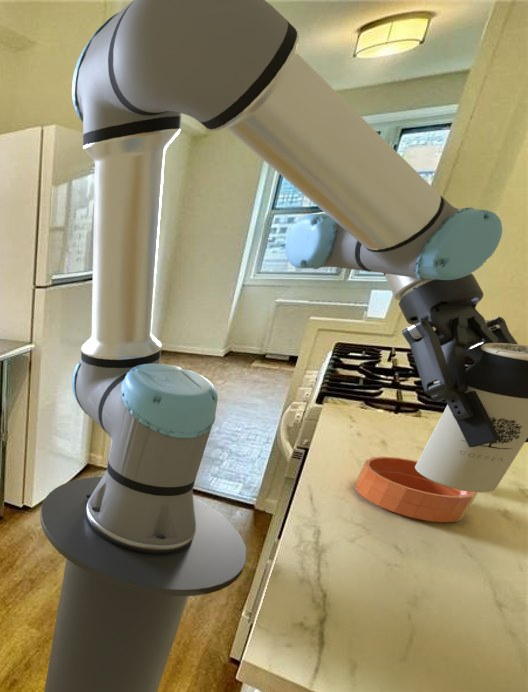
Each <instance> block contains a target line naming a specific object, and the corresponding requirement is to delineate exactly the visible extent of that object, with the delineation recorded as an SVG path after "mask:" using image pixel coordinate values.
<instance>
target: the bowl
mask: <svg viewBox="0 0 528 692" xmlns="http://www.w3.org/2000/svg"><path fill="white" fill-rule="evenodd" d="M417 462H418V460H414V459H409V458H402V457H394V456H374V457H370V458H368V459H366V460H365V461H364V464H363V466H362V468H361V470H360V472H359V475H358V477H357V479H356V480H355V483H354V488H355V490H356V492H357V493H358V494H359V495H361V496H362V497H363V498H364V499H366V500H367V501H369V502H371V503H373V504H374V505H376V506H377V507H380V508H382V509H384V510H387V511H390V512H392V513H395V514H398V515H401V516H404V517H407V518H412V519H416V520H421V521H427V522H437V523H452V522H453V523H454V522H458V521H460V520H462V519H464V517H465V515H466V514H467V512H468V510H469V509H470V508H471V505H472V504H473V502H474V501H475V499H476V497H477V496H478V494H479V492H470V491H462V490H458V489H454V488H450V487H447V486H444V485H441V484H438V483H435V482H433V481H431V480H429V479H427V478H426V477H424V476H422V475H421V474H420V473H419V472H418V471H417V470H416V469H415V466H416V464H417Z"/></svg>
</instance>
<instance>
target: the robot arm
mask: <svg viewBox="0 0 528 692" xmlns="http://www.w3.org/2000/svg"><path fill="white" fill-rule="evenodd" d="M299 40H300V33H299V31H298V30H297V28H295V27H294V25H292V23H290V22H289V21H288V20H287V18H285V16H283V15H282V14H281V13H280V12H279V11H278V10H277V9H276V8H275V7H274V6H273V5H272V4H270V3H269V2H268V1H267V0H132V1H131V2H130V3H128V4H127V5H126V6H125V7H124V8H123V9H122V10H121V11H119V12H117V13H115V14H113V15H112V16H110V17H109V18H108V19H107V20H105V21H104V23H102V25H100V26H99V27H98V28H97V30H96V31H95V32H94V33H93V35H92V36H91V37H90V39H89V41H88V42H87V43H86V45H85V46H84V47H83V49H82V51H81V53H80V55H79V56H78V59H77V62H76V65H75V67H74V71H73V76H72V83H71V98H72V99H71V100H72V104H73V107H74V110H75V113H76V115H77V117H78V119H80V121H81V122H82V123H83V124H82V149H83V151H84V152H85V153H87V155H88V156H89V157H90V158H91V159H92V160H93V163H94V184H93V185H94V191H93V192H94V193H93V237H92V238H93V239H92V241H93V243H92V244H93V245H92V289H91V290H92V292H91V293H92V294H91V296H92V297H91V300H92V301H91V335H90V337H89V338H88V339H87V340H86V341H85V342H83V344H81V350H80V361H79V362H78V363H77V364H76V365H75V367H74V369H73V373H72V378H71V388H72V394H73V396H74V398H75V400H76V403H77V404H78V406H79V407H80V409H81V410H82V411H83V412H84V414H86V415H87V416H89V418H90V419H92V420H93V421H94V422H95V424H96V425H98V426H99V427H100V428H101V429H102V430H103V432H105V433H106V434H107V435H108V436H109V437H110V438H111V444H110V450H109V455H108V460H107V465H106V470H105V473H104V474H103V476H101V477H102V479H101V481H100V482H99V484H98V485H97V487H96V489H95V490H94V492H92V493H87V494H86V497H87V498H89V500H88V503H87V508H86V514H85V516H86V521H87V523H88V525H89V526H90V527H91V529H92V530H93V531H94V532H95V533H96V534H97V535H99V536H100V537H101V538H103V539H104V540H106V541H108V542H110V543H111V544H114V545H116V546H118V547H120V548H123V549H126V550H129V551H133V552H137V553H141V554H148V555H170V554H175V553H179V552H181V551H183V550H185V549H187V548H188V547H189V546H190V545H191V543H192V541H193V538H194V535H195V531H196V520H195V510H194V501H193V498H194V494H193V491H194V490H193V489H194V486H195V483H196V479H197V476H198V474H199V469H200V466H201V463H202V460H203V456H204V454H205V450H206V448H207V443H208V440H209V438H210V434H211V431H212V428H213V425H214V423H215V421H216V412H217V407H218V401H219V398H218V397H219V396H218V391H217V389H216V387H215V386H214V384H213V383H212V381H210V380H209V379H208V378H207V377H204V376H203V375H202V374H199V373H197V372H195V371H193V370H191V369H183V368H182V367H181V366H177V365H172V364H168V363H167V364H166V363H161V358H162V357H161V355H162V343H161V341H160V340H158V339H157V338H156V337H155V336H154V335H153V332H152V329H153V328H152V327H153V315H154V302H155V290H156V277H157V275H156V274H157V263H158V249H159V237H160V225H161V224H160V222H161V212H162V199H163V198H162V197H163V186H164V174H165V173H164V172H165V171H164V170H165V161H166V160H165V157H166V151H167V148H168V147H169V145H170V144H171V143H172V142H173V141H174V140H175V138H176V137H178V135H179V134H180V132H181V125H182V123H181V122H182V114H183V115H185V116H189V117H191V118H193V119H195V120H196V121H197V122H199V123H200V124H201V125H203V126H204V128H206V129H207V130H208V131H210V132H217V131H221V130H224V129H227V130H228V131H229V132H230V133H231V134H232V135H233V136H235V137H236V138H237V139H238V140H239V141H240V142H242V143H243V144H244V145H245V146H246V147H247V148H249V149H250V150H251V151H252V152H253V153H254V154H256V155H257V156H258V157H259V158H260V159H262V160H263V161H264V162H265V163H266V164H267V165H268V166H270V167H271V168H272V169H273V170H274V171H276V172H277V173H278V174H279V175H280V176H281V177H282V178H283V179H285V180H286V181H287V182H288V183H290V184H291V185H292V186H293V187H294V188H295V189H297V190H298V192H300V193H301V194H302V195H304V196H305V197H306V198H307V199H308V200H310V201H311V202H312V203H313V204H314V205H315V206H316V207H317V208H318V209H320V210H321V212H315V213H314V212H313V213H309V214H306V215H304V216H302V217H301V218H299V219H298V220H297V221H296V222H295V223H294V224H293V225H292V227H291V229H290V230H289V232H288V234H287V237H286V238H287V239H286V243H285V246H284V247H285V248H284V249H285V250H284V251H285V256H286V259H287V261H288V263H289V264H290V265H291V266H292V267H294V268H297V269H301V270H302V269H312V270H318V269H321V268H338V269H347V270H355V271H362V272H369V273H370V272H371V273H379V274H383V276H384V278H385V280H386V282H387V284H388V287H389V289H390V290H391V293H392V296H393V297H394V299H395V300H396V301H399V302H398V306H399V308H400V310H401V313H402V315H403V317H404V319H405V321H406V322H407V323H408V325H410V326H408V327H406V328H404V329H402V330H401V334H402V336H403V338H404V339H405V340H406V341H407V343H408V345H409V347H410V350H411V351H410V352H411V354H412V357H413V360H414V363H415V366H416V370H417V373H418V375H419V379H420V383H421V385H422V389H423V391H424V393H425V394H426V395H427V396H430V397H431V399H432V401H433V402H437V403H438V402H442V401H444V400H445V403H446V404H447V405H448V406H449V408H450V410H451V412H452V414H453V416H454V418H455V419H456V421H457V423H458V425H459V427H460V429H461V431H462V434H463V436H464V438H465V440H466V442H467V444H468V446H469V447H476V446H480V445H483V444H487V443H491V442H494V441H498V440H501V439H500V437H499V435H498V434H497V432H496V430H495V428H494V426H493V424H492V422H491V420H490V418H489V416H488V414H487V412H486V410H485V408H484V406H483V404H482V402H481V400H480V399H479V397H478V395H477V393H476V391H470V392H467V393H465V392H466V391H467V390H468V386H467V377H466V369H467V368H466V360H465V357H470V358H471V360H472V361H473V362H474V363H476V362H477V361H478V360H480V356H481V353H482V349H481V346H482V345H483V344H487V343H508V344H519V343H518V342H517V340H516V339H515V338H514V336H513V335H512V334H511V332H510V331H509V327H508V325H507V322H506V320H505V319H504V318H503V317H502V316H497V317H495V318H493V319H491V320H489V319H485V317H484V316H483V314H481V313H480V312H479V311H478V310H477V308H476V307H477V305H478V304H479V303H480V302H481V300H482V299H483V298H484V291H483V290H482V288H481V285H480V284H479V283H478V281H477V279H476V277H475V274H473V273H474V272H476V271H477V270H479V269H480V268H481V267H482V266H483V265H484V264H485V263H486V262H487V260H488V259H490V258H491V257H492V256H493V254H494V253H495V251H497V248H498V246H499V244H500V242H501V239H502V234H503V225H502V220H501V218H500V217H499V215H498V214H497V213H495V212H493V211H491V210H489V209H479V208H477V209H476V208H474V207H472V206H471V207H463V208H457V207H455V206H453V205H452V204H451V203H450V202H449V201H447V199H445V197H443V196H442V195H441V194H440V193H439V191H437V190H436V189H435V188H434V187H433V186H432V185H431V184H430V183H429V182H428V181H427V180H426V179H425V178H424V177H422V176H421V175H420V173H419V172H418V171H417V170H415V168H414V167H413V166H411V164H410V163H409V162H407V160H405V158H403V157H402V155H401V154H400V153H398V151H396V150H395V148H394V147H392V145H391V144H390V143H388V142H387V141H386V140H385V139H384V137H383V136H382V135H380V134H379V132H377V131H376V130H375V129H374V128H373V127H372V126H371V125H370V123H368V122H367V121H366V120H365V119H364V118H363V116H361V115H360V114H359V113H358V112H357V111H356V110H355V109H354V108H353V107H352V106H351V105H350V104H349V103H348V102H347V101H346V100H345V99H344V98H343V97H342V96H341V95H340V94H339V93H338V92H337V91H336V90H335V88H333V87H332V86H331V85H330V84H329V83H328V82H327V81H326V80H325V79H324V78H323V77H322V76H321V75H320V74H319V73H318V72H317V71H316V70H315V69H314V68H313V67H312V66H311V65H310V64H309V63H308V62H307V61H306V60H305V59H304V58H303V57H302V56H301V55H300V54H299V53H298V52H297V48H298V46H299V45H298V44H299ZM435 382H436V383H435ZM525 443H528V438H527V440H526V441H525ZM525 443H524V444H525Z"/></svg>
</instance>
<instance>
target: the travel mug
mask: <svg viewBox="0 0 528 692" xmlns="http://www.w3.org/2000/svg"><path fill="white" fill-rule="evenodd" d="M481 349H482V353H481V356H480V360H478V361H477V362H474V363H472V364H471V365H469V366H468V367H467V368H466V377H467V386H468V390H467V391H466V392H465V393H467V392H470V391H476V393H477V395H478V397H479V399H480V400H481V402H482V404H483V406H484V408H485V410H486V412H487V414H488V416H489V418H490V420H491V422H492V424H493V426H494V428H495V430H496V432H497V434H498V435H499V437H500V439H501V440H498V441H494V442H491V443H487V444H483V445H480V446H476V447H469V446H468V444H467V442H466V440H465V438H464V436H463V434H462V431H461V429H460V427H459V425H458V423H457V421H456V419H455V418H454V416H453V414H452V412H451V410H450V408H449V406H448V404H447V405H446V407H445V409H444V411H443V413H442V415H441V416H440V417H439V420H438V422H437V424H436V426H435V428H434V429H433V431H432V433H431V435H430V437H429V439H428V441H427V443H426V445H425V447H424V449H423V451H422V452H421V454H420V457H418V460H417V461H418V462H417V464H416V466H415V469H416V470H417V471H418V472H419V473H420V474H421V475H422V476H424V477H426V478H427V479H429V480H431V481H433V482H435V483H438V484H441V485H444V486H447V487H450V488H454V489H458V490H462V491H470V492H477V493H491V492H494V491H495V490H496V489H497V488H498V487H499V485H500V483H501V481H502V479H503V478H504V477H505V475H506V473H508V472H507V471H508V470H509V468H510V466H511V465H512V463H514V460H515V459H516V457H517V456H518V454H519V452H520V451H521V450H522V448H523V446H524V445H525V441H526V440H527V438H528V345H527V344H526V345H525V344H519V343H518V344H508V343H487V344H483V345H482V346H481Z"/></svg>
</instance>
